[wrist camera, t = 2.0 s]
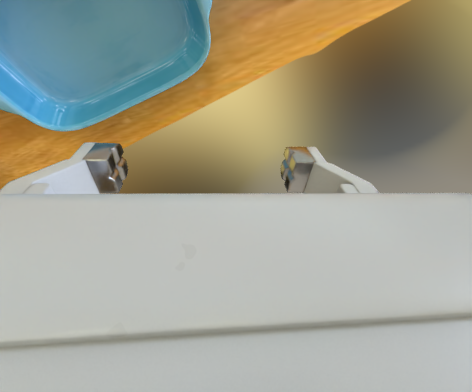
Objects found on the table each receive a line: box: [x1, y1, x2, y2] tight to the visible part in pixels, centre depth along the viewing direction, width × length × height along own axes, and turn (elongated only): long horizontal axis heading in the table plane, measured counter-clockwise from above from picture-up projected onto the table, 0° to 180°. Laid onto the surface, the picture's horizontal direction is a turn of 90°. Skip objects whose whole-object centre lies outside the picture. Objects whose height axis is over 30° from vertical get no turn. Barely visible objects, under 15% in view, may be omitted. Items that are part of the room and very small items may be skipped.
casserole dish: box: [0, 0, 212, 131], centre depth 32 cm, size 37×22×7 cm, turn 109°
